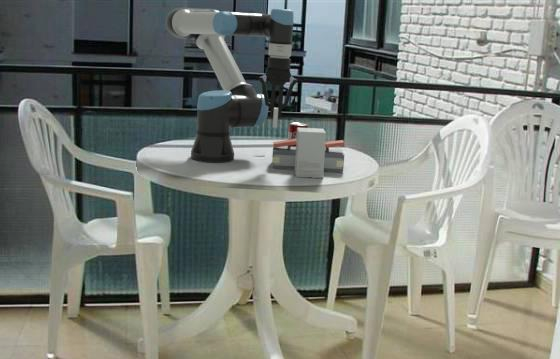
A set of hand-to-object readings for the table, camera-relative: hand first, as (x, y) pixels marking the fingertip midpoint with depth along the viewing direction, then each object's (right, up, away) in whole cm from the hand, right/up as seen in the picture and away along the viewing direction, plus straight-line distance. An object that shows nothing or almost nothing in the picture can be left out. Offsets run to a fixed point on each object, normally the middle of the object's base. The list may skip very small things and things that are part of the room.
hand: (274, 127), depth 233 cm
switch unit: (+11, -14, +3) cm, 18 cm away
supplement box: (+11, -16, -8) cm, 21 cm away
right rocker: (+18, -6, +1) cm, 19 cm away
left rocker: (+5, -5, +1) cm, 7 cm away
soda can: (+8, -9, +21) cm, 25 cm away
